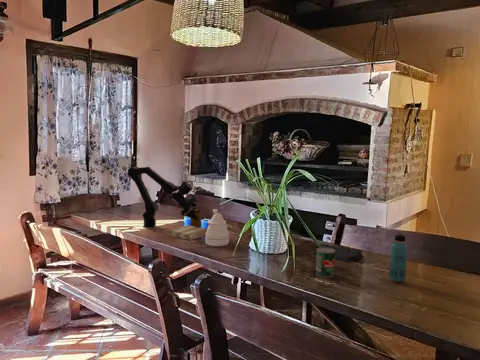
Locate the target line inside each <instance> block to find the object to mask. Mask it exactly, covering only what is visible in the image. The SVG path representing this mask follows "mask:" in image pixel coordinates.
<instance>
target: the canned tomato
mask: <svg viewBox="0 0 480 360" xmlns="http://www.w3.org/2000/svg"><path fill="white" fill-rule="evenodd" d="M320 247H321V248H320ZM320 247H318V248H316V250H317V254H316V258H315V259H316V261H315V263H316V264H315V275H316V276H318V277H320V276H321V277H322V278H333V277H334V276H335V263H336V260H335V250H334V249H332V248H326V247H322V246H320Z"/></svg>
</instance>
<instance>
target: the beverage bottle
mask: <svg viewBox="0 0 480 360" xmlns="http://www.w3.org/2000/svg"><path fill="white" fill-rule="evenodd" d="M394 240H395V241H396V242H393V243H392V244H391V245H390V246H391V247H390V248H391V250H390V261H389V267H388V271H389V272H388V277H389V279H390V280H391V281H392V280H393V281H397V282H402V281H405V279H406V272H407V260H408V259H407V257H408V255H407V254H408V247H409V246H407V244H406V243H404V242H406V236H405V235H404V234H395V236H394Z"/></svg>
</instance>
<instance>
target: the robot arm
mask: <svg viewBox="0 0 480 360" xmlns="http://www.w3.org/2000/svg"><path fill="white" fill-rule="evenodd" d="M127 174H128V176H129V178H131V180H132V181H133V182H134V183H135V185H136V188H137V189H138V192H139V193H140V195H141V198H142V199H143V202H144V208H145V209H144V210H145V212H143V213H142V217H143V225H142V227H143V228H151V229H152V228H154V227H156V226H157V221H156V217H155V216H156V214H157V213H159V207H160V206H159V205H158V202H157V201H156V200H155V201H154V200H153V199H152V198H151V196H150V193H149V191H148V189H147V187H146V185H145V182H144V181H143V176H142V175H143V174H146V175H147V176H148V177H150V178H151V179H152V180H153V181H154V182H156V183H157V184H158V185H159V186H160V187H161V189H162V190H163V192H165V193H166V194H167V195H169V201H171V200H174V201H175V202H176V203H177V204H178V207H181V208H182V210H181V212H180V215H181V216H182V217H188V218H190V219H191V218H192V219H195V220H198V218H197V217H196V215H195V214H194V213H193V209H197V207H198V203H197V202H198V201H199V197H198V196H197V195H195V194H192V195H191V197H190V198H188V197H185V196H187V195H188V194H189V193H190V192H192V190H193V189H194V188H193V186H192V185H191V184H190V183H189V182H187V181H183V182H182V183H181V185H175V183H173V182H171V181H168V180H166V179H165V178H164V177H162V176H161V175H160V174H158V173H157V172H156V171H155V170H154V169H152V168H151V167H150V166H145V167H142V166H141V167H140V166H139V167H138V166H133V167H130V168H128V170H127Z"/></svg>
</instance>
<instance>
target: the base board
mask: <svg viewBox="0 0 480 360" xmlns="http://www.w3.org/2000/svg"><path fill="white" fill-rule="evenodd" d="M207 229H208V228H204V227H203V228H202V227H200V228H199V227H194V226H191V225H189V224H188V225H184V226H181V227H177V228H174V229H170V230H169V236H170V237H174V238H178V239H183V240H188V241H192V240H194V239H195V240H196V239H199V238H201V237H204V236H205V237H206V232H207Z"/></svg>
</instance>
